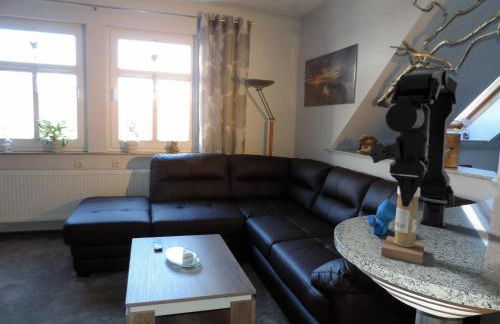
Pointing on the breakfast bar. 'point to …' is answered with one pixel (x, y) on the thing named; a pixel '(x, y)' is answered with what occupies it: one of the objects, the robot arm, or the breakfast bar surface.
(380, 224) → the blue figurine
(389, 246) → the wooden block
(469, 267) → the breakfast bar surface
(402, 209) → the sprinkles bottle
